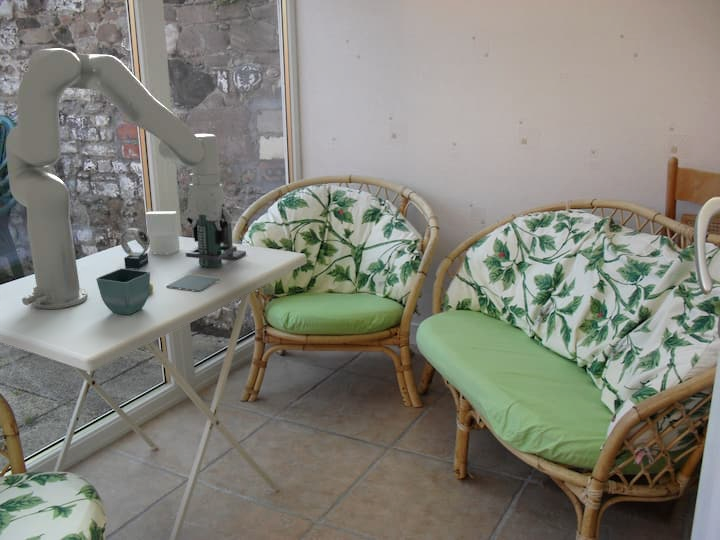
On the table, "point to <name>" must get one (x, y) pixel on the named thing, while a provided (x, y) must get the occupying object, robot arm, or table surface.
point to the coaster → (193, 282)
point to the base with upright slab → (162, 232)
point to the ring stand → (226, 248)
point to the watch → (135, 258)
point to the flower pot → (124, 290)
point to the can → (207, 241)
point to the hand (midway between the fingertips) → (209, 241)
